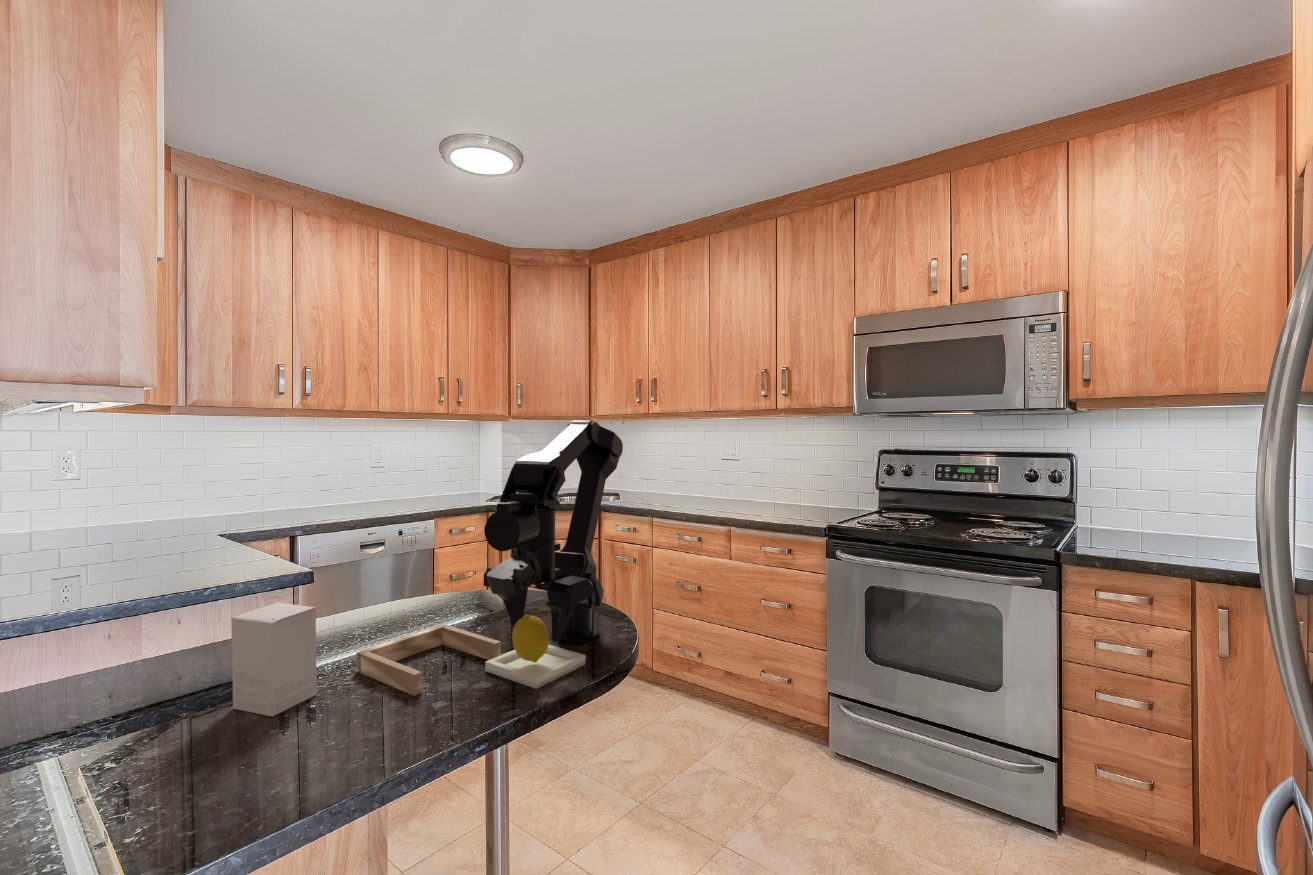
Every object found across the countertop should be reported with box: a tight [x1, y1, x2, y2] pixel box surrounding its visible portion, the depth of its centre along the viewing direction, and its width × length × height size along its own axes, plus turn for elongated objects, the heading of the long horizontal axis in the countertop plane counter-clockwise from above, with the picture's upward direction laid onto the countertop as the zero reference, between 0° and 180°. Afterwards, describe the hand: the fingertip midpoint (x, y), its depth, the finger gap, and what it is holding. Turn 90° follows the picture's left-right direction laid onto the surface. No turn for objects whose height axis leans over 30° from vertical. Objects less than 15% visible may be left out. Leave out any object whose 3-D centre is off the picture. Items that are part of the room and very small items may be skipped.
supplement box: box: [230, 602, 318, 717], centre depth 85 cm, size 7×7×13 cm
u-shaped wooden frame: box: [356, 623, 502, 697], centre depth 98 cm, size 16×15×3 cm
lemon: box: [511, 614, 550, 663], centre depth 97 cm, size 6×6×8 cm
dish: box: [484, 644, 586, 690], centre depth 98 cm, size 11×11×2 cm
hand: (536, 636), depth 98 cm, fingers open, 8 cm apart
